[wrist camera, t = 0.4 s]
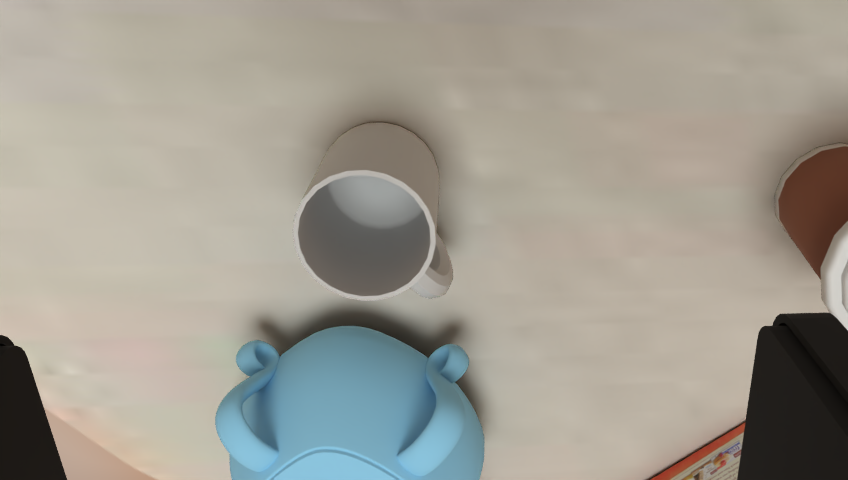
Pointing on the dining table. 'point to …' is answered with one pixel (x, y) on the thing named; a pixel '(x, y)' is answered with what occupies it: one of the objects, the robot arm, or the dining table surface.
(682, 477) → the cracker box
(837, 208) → the coffee cup
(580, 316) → the dining table surface
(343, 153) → the cup
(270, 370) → the decorative pot
